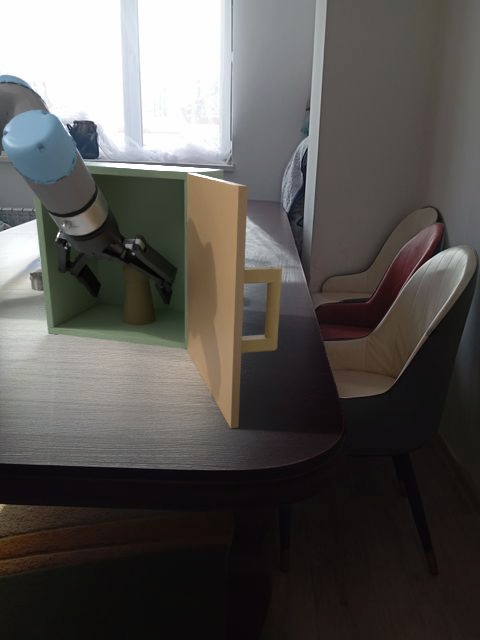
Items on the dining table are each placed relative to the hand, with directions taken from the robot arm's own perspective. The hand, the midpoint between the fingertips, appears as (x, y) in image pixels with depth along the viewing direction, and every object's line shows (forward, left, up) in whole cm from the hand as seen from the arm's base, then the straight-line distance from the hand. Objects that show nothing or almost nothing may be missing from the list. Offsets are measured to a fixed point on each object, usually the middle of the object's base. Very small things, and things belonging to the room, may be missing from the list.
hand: (132, 294), depth 92 cm
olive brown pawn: (+1, +2, -6) cm, 6 cm away
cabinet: (+1, +2, -7) cm, 7 cm away
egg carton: (-20, +32, -7) cm, 39 cm away
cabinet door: (+15, -24, -7) cm, 29 cm away
